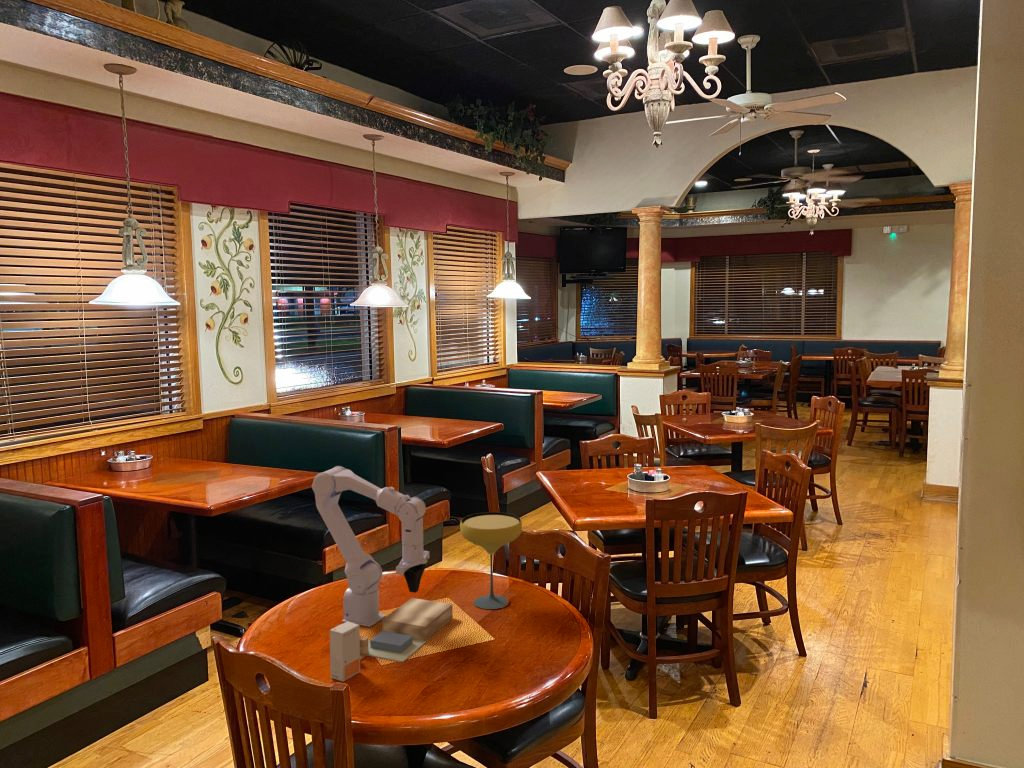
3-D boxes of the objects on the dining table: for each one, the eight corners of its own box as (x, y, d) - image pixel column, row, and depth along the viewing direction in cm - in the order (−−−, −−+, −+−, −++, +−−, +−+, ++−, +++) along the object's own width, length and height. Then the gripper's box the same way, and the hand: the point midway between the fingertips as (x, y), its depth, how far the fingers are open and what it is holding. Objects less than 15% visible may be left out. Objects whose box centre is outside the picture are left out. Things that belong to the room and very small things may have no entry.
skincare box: (343, 682, 179) (341, 633, 178) (330, 678, 181) (328, 629, 180) (361, 672, 184) (360, 624, 183) (348, 667, 186) (346, 620, 185)
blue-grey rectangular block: (382, 630, 201) (382, 638, 202) (370, 640, 196) (370, 647, 196) (412, 636, 198) (412, 643, 198) (400, 645, 193) (401, 653, 193)
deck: (382, 633, 205) (382, 619, 205) (412, 611, 220) (411, 597, 219) (425, 641, 200) (425, 626, 200) (452, 617, 215) (452, 604, 215)
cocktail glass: (448, 604, 225) (447, 521, 222) (489, 586, 238) (488, 508, 236) (494, 620, 213) (493, 533, 210) (534, 601, 227) (534, 519, 224)
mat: (354, 653, 194) (354, 652, 194) (380, 634, 205) (380, 633, 205) (402, 662, 189) (402, 661, 189) (426, 642, 200) (426, 641, 200)
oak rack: (338, 660, 190) (337, 644, 189) (352, 650, 195) (351, 634, 195) (355, 664, 188) (354, 647, 187) (368, 653, 193) (368, 637, 193)
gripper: (411, 553, 199) (412, 603, 201) (438, 537, 212) (439, 584, 214) (388, 549, 202) (389, 599, 203) (416, 534, 215) (417, 580, 217)
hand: (413, 591), depth 209 cm, fingers closed
